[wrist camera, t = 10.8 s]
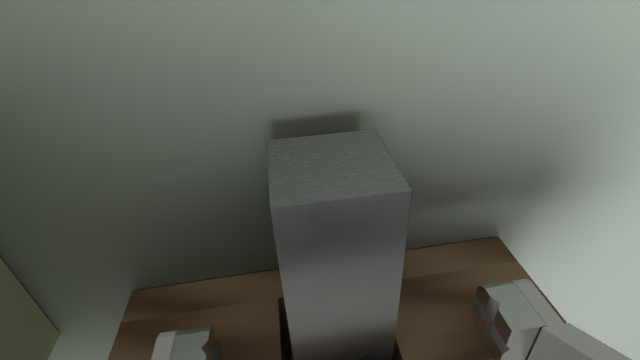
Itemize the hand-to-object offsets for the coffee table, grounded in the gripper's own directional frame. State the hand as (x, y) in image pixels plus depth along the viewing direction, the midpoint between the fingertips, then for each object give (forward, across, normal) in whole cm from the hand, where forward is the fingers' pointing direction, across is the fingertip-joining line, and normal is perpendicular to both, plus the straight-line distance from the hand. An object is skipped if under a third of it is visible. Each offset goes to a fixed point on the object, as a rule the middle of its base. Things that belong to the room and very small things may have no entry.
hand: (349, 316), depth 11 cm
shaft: (+3, 0, +3) cm, 4 cm away
